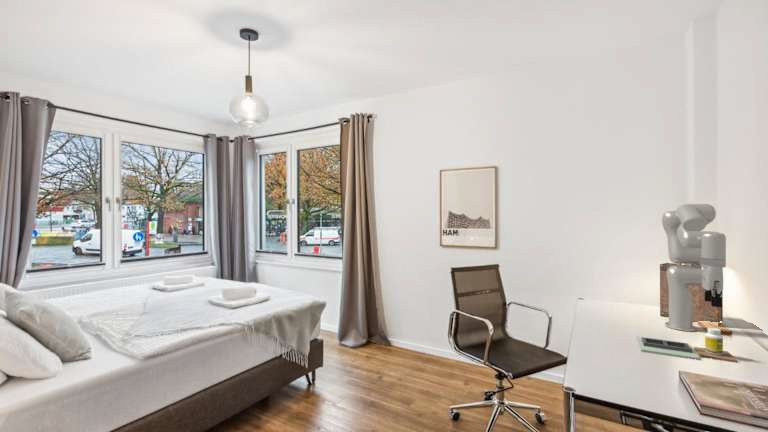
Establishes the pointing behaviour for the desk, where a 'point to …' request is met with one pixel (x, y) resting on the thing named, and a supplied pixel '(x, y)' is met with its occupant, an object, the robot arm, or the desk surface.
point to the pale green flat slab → (666, 347)
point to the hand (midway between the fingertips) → (713, 304)
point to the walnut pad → (725, 356)
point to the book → (700, 306)
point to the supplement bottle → (714, 341)
